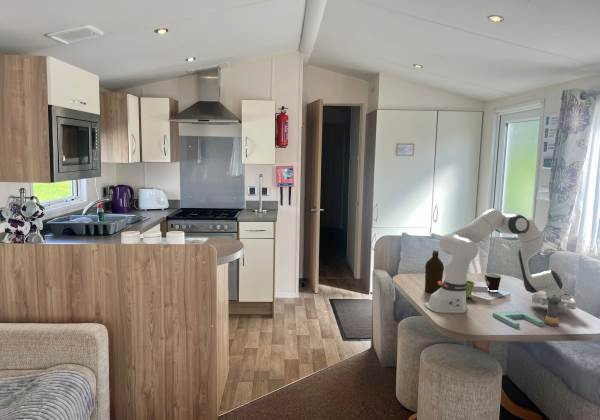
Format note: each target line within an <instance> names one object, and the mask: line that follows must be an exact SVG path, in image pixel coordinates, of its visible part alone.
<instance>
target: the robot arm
mask: <svg viewBox="0 0 600 420" xmlns="http://www.w3.org/2000/svg"><path fill="white" fill-rule="evenodd" d="M495 231H496V232H498V233H501V234H508V235H517V237H518V239H519V242H520V248H519V250H518V255H517V256H518V260H519V265H520V266H519V267H520V271H521V275H522V279H523V281H522V282H523V287H524V289H525V291H527V292H528V293H530V294H531V293H532V295H531V296H532V297H531V302H532V303H534V304H540V305H541V306H548V300H547V297H556V298H559V299H561V302H559V307H558V308H561V310H562V309H563V310H566V309H567V310H572V311H573V310H574V311H575V310H576V307H577V301H576V300H575V299H574V296H573V295H571V294H567V293H564V291H563V286H564V285H563V281H562V279H561V278H562V277H561V276H560V275H559V274H558V272H556V271H555V270H553V269H548V270H545V271H541V272H537V273H534V274H533V273H532V274H531V271H530V268H529V264H528V263H529V260H530V259H531V258H532V257H534V256H535V255H537V254H538V253H540V251H541V250H543V249H542V248H543V246H544V239H543V236H542V233H541V232H540V230H539V228H538V226H537V225H536V223H535V222H534V221H533V220H532V219H531V218H527V217H526V216H523V215H522V214H519V213H518V214H514V213H502V211H501V210H498V209H497V208H490V209H488V210H487V211H484V212H483V213H481V214H480V215H479V216H477V217H476V218H475V219H474V220H472V221H470V223H468V224H467V225H466V226H464V227H462V228H460V229H457V230H455V231H453V232H451V233H448V234H443V235H442V236H441V237H440V239H439V242H438V243H439V248H440V249H441V250H442V251H443V252H444V253H446V254H448V255H451V260H450V262H449V263H447V265H446V267H445V272H444V280H443V281H442V282H441V281H438V284H439V285H442V286H441V288H440V289H438V290H437V291H436V292H434V293H433V294H432V293H430V296H429V301H427V302H424V307H426V308H427V309H429V310H431V311H432V312H435V313H444V314H445V313H446V314H447V313H450V314H452V313H453V314H454V313H455V314H457V313H459V314H460V313H462V314H463V313H464V314H465V313H466V312H467V310H468V304H467V298H466V290H467V283H466V280H467V279H468V271H469V270H468V269H469V266H470V264H471V262H472V260H474V259H475V258H476V257H477V256H478V254H479V246H478V244H477V243H481V242H482V241H484V240H485V239H486V238H488V237H489V236H490V235H492V234H493V233H494V232H495ZM541 291H545V294H541V293H539V292H541Z"/></svg>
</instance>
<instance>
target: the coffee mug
mask: <svg viewBox="0 0 600 420" xmlns="http://www.w3.org/2000/svg"><path fill="white" fill-rule="evenodd" d="M501 279H502V275H500V274H496V273H486V274H484V280H485V282H486V284H485V285H487V286H488V288H489V290H498V291H499V290H500V289H499V288H500V283H501Z"/></svg>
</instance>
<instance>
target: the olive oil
mask: <svg viewBox="0 0 600 420" xmlns="http://www.w3.org/2000/svg"><path fill="white" fill-rule="evenodd" d="M444 269H445V267H444V263H443V262H442V260H441V259H440V258H439V251H438V250H434V249H433V251H432V256H431V258H429V259H428V260H427V261H426V262H425V269H424V271H425V272H424V274H425V275H424V276H425V277H424V278H425V279H424V291H425V293H429V294H433V293H434V292H436V291H437V290H438V289H440V288H441V286H442V285H439V284H438V281H441V282H442V283H443V277H444Z"/></svg>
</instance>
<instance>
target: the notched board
mask: <svg viewBox="0 0 600 420" xmlns="http://www.w3.org/2000/svg"><path fill="white" fill-rule="evenodd" d="M492 317H494V318H495V319H498V320H499V321H500V322H502V323H504V324H506V325H508V326H510V327H512V328H515V329H517V328H520V326H521V325H520V324H521V323H520V322H518V321H516V320H514V319H524V320H526V321H528V322H530V323H531V324H534V325H536V326H537V327H542V326H544V325H545V324H544V321H545V320H541V319H540V318H537V317H535V316H534V315H531V314H528V313H527V312H525V311H522V310H510V311H509V310H508V311H494V312H492Z"/></svg>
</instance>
